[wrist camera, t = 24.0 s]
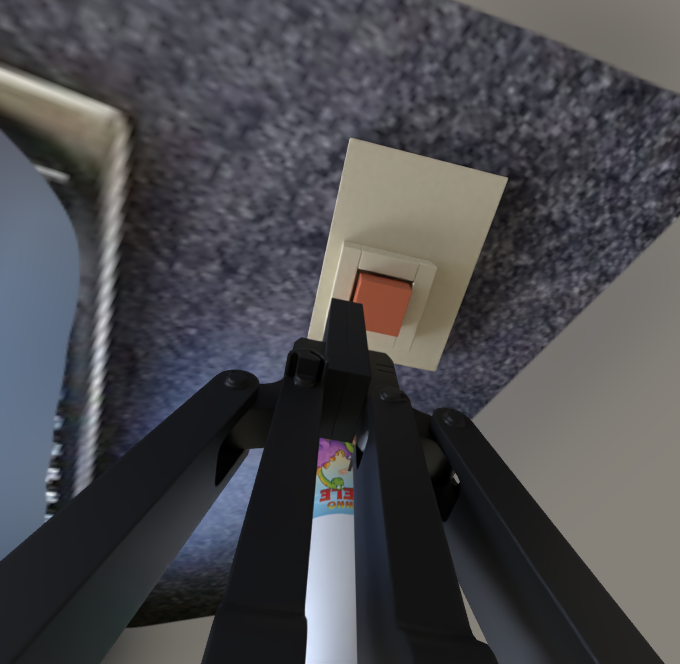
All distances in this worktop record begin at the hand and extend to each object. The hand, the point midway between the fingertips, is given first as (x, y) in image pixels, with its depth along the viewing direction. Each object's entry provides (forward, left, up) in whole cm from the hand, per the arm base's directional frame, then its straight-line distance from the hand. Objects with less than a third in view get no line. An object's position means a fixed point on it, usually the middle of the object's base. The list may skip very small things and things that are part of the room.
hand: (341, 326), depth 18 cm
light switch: (-1, +4, -11) cm, 11 cm away
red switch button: (+1, +3, -7) cm, 7 cm away
